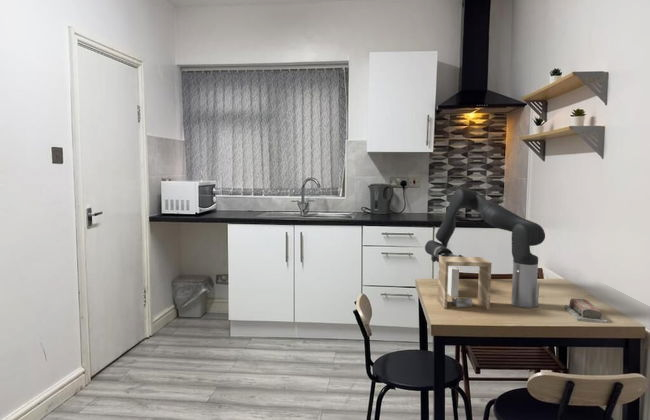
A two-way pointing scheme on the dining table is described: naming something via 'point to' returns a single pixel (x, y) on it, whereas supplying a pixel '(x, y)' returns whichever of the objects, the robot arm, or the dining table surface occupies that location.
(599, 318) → the packaged product
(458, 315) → the dining table surface
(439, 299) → the wooden arch
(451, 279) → the white box
